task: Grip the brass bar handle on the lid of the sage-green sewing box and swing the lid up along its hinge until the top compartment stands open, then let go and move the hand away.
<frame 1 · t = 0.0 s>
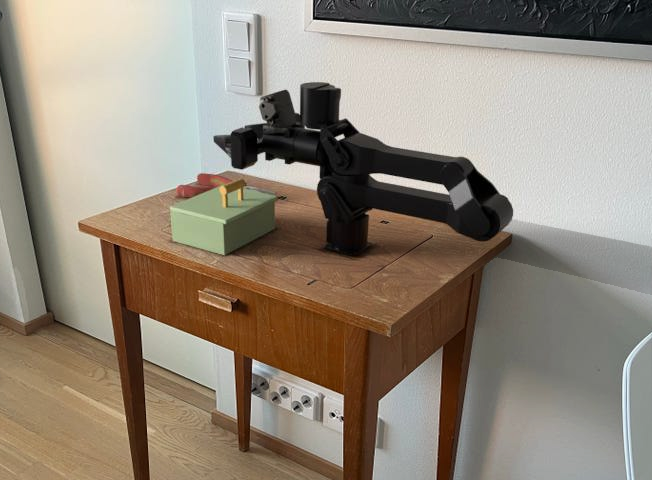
hand: (229, 133, 133), 17 cm above the table, tool horizontal, fingers open, 9 cm apart
sewing box: (224, 234, 135), on the table
pliers: (221, 197, 154), on the table
lid: (224, 192, 131), point 8 cm above the table, hinge at 0.0°
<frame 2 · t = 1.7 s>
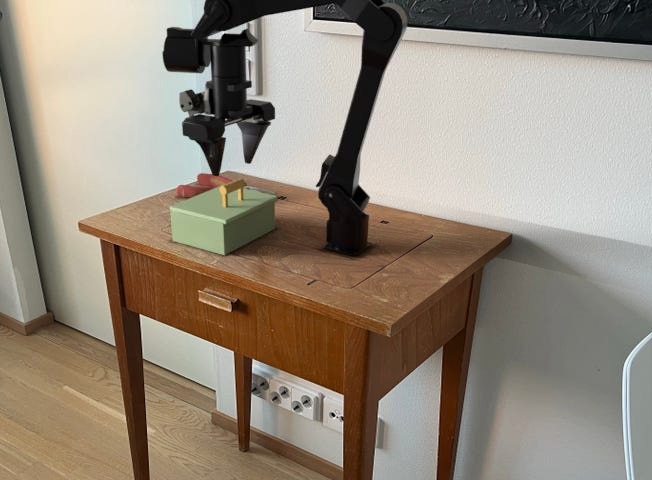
hand: (232, 169, 127), 13 cm above the table, tool pointing down, fingers open, 9 cm apart
nothing on the table moved.
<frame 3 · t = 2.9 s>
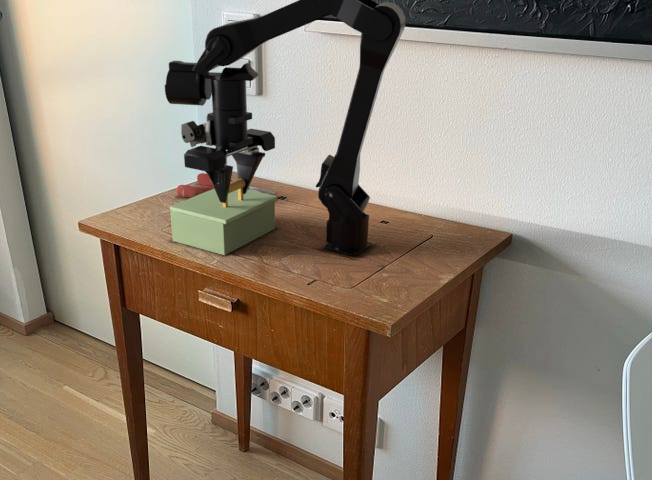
hand: (233, 197, 130), 7 cm above the table, tool pointing down, fingers closed on lid, 5 cm apart
lid: (224, 192, 131), point 8 cm above the table, hinge at 0.0°, touching gripper
everything else where it was.
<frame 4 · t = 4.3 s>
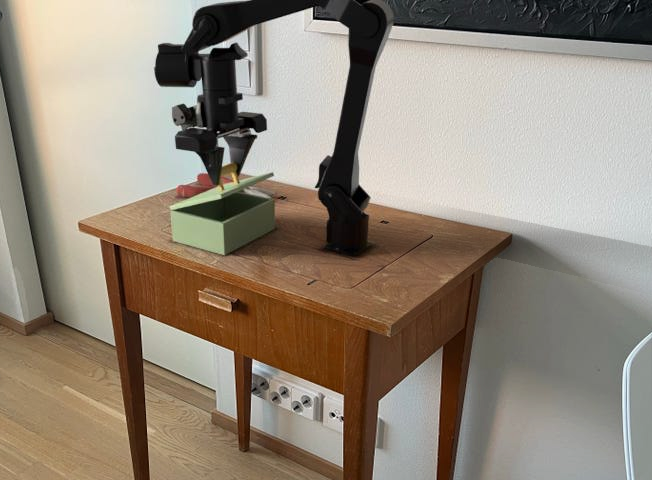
hand: (226, 180, 129), 10 cm above the table, tool pointing down, fingers closed on lid, 5 cm apart
lid: (219, 180, 130), point 10 cm above the table, hinge at 20.3°, touching gripper
everything else where it was.
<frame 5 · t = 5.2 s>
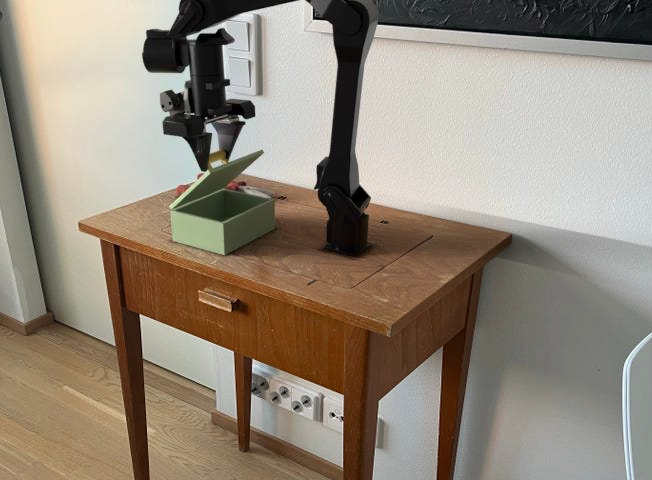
hand: (214, 167, 129), 12 cm above the table, tool pointing down, fingers closed on lid, 5 cm apart
lid: (211, 170, 130), point 12 cm above the table, hinge at 40.5°, touching gripper
everything else where it was.
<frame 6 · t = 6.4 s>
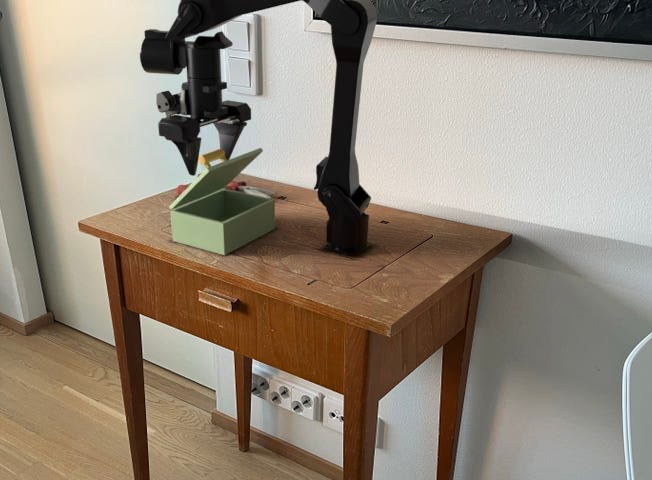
hand: (209, 168, 130), 12 cm above the table, tool pointing down, fingers open, 9 cm apart
lid: (210, 169, 130), point 12 cm above the table, hinge at 42.3°
everything else where it was.
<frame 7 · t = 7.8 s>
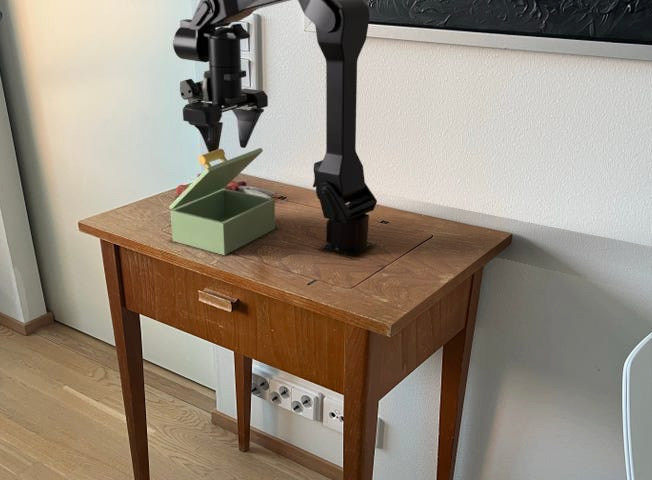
hand: (228, 152, 138), 12 cm above the table, tool pointing down, fingers open, 9 cm apart
nothing on the table moved.
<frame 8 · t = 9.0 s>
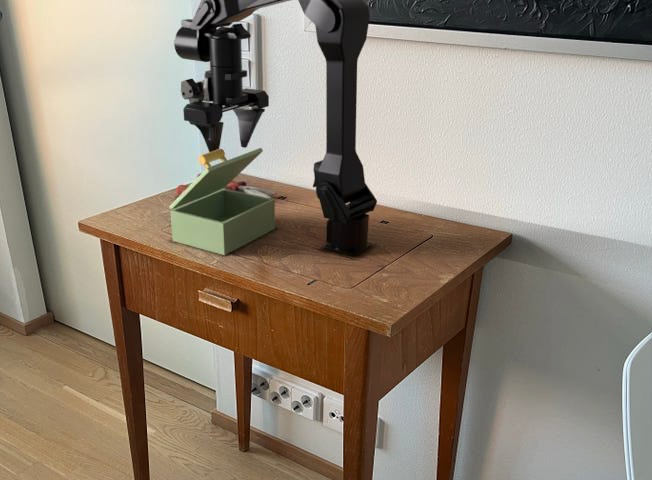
hand: (229, 152, 139), 12 cm above the table, tool pointing down, fingers open, 9 cm apart
nothing on the table moved.
at the end: lid at +42° (first picture: +0°); pliers moved 0.2 cm from its start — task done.
